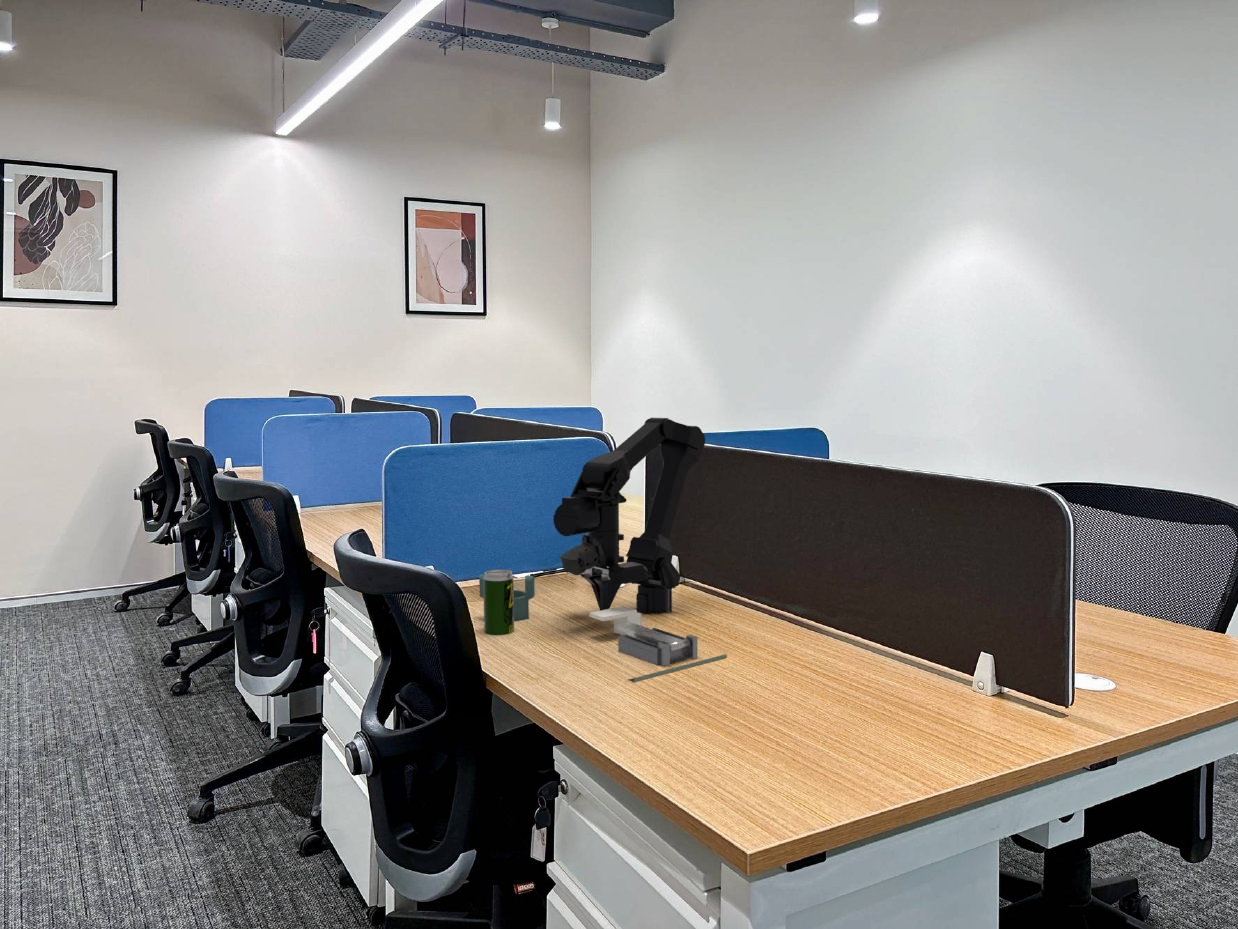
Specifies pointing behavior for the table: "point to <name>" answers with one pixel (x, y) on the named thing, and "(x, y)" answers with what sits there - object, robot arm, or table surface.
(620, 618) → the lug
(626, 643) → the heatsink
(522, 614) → the bracket
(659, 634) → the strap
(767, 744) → the table surface
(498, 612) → the beer can
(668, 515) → the robot arm
